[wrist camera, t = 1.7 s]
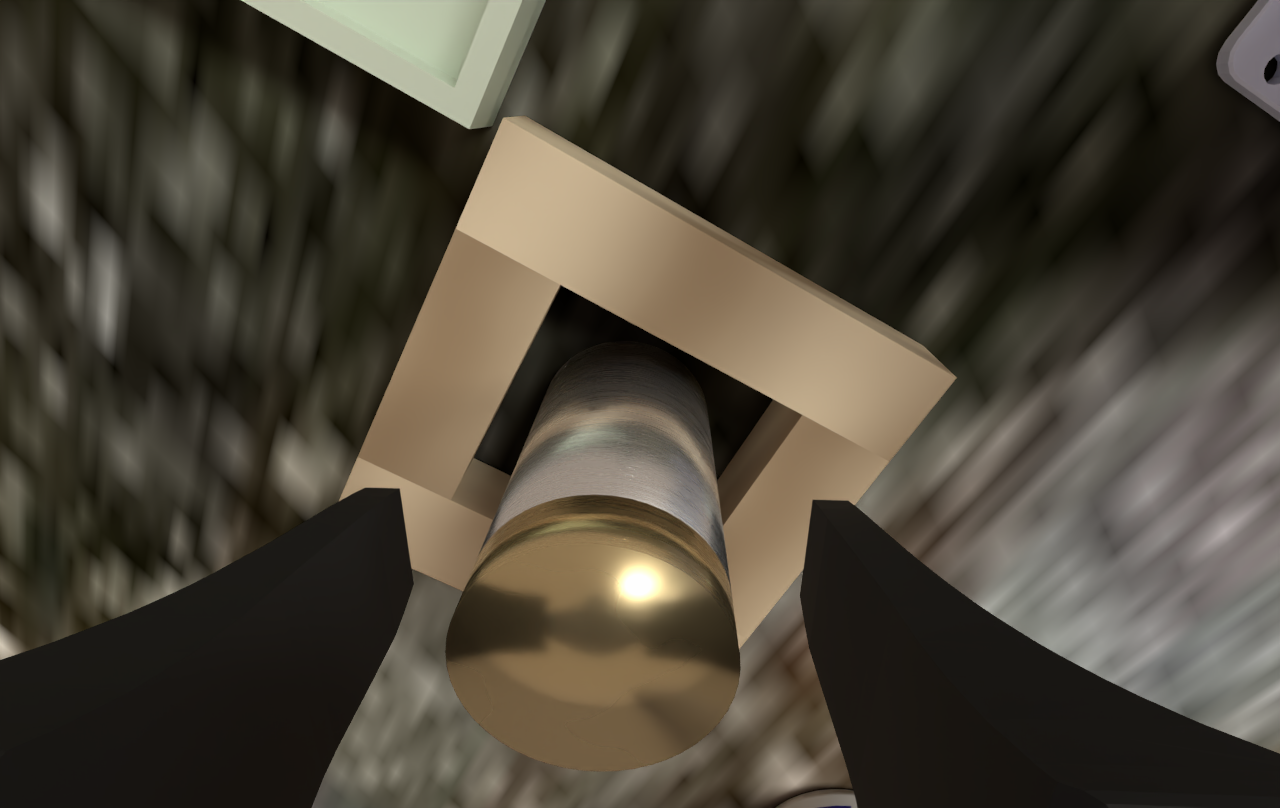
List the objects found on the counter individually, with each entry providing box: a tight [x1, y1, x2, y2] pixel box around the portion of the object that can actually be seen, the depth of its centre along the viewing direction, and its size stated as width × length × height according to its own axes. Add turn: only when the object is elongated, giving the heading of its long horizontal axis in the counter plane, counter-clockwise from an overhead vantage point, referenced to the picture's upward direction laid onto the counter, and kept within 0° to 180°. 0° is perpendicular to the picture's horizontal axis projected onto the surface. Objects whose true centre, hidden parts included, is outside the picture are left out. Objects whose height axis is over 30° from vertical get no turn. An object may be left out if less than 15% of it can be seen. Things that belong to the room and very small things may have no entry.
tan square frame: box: [339, 116, 957, 649], centre depth 16 cm, size 10×10×2 cm
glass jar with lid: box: [445, 341, 740, 771], centre depth 13 cm, size 4×4×8 cm
